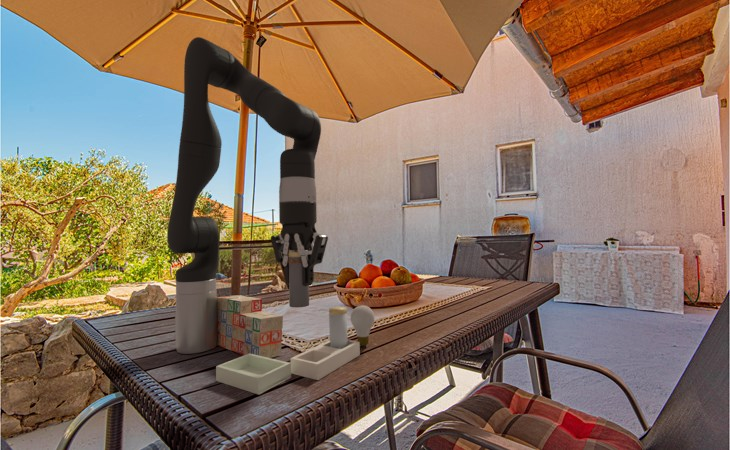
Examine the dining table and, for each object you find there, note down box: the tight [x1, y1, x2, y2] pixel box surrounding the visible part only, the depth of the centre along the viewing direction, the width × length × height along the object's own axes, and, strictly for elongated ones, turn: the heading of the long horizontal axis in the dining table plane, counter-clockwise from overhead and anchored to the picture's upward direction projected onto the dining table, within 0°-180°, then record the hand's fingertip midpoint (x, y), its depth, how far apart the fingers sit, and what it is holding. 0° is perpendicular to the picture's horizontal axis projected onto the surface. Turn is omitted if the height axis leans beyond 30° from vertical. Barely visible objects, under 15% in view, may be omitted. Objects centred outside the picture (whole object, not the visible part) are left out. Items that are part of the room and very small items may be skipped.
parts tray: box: [215, 353, 292, 395], centre depth 66 cm, size 12×8×3 cm, turn 58°
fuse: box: [328, 306, 349, 349], centre depth 77 cm, size 4×4×11 cm
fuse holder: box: [290, 339, 361, 381], centre depth 73 cm, size 7×15×3 cm, turn 149°
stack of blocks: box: [217, 294, 284, 359], centre depth 84 cm, size 21×6×12 cm, turn 49°
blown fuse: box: [288, 251, 310, 308], centre depth 70 cm, size 4×4×11 cm
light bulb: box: [350, 305, 375, 348], centre depth 84 cm, size 6×6×10 cm
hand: (299, 284), depth 70 cm, fingers closed on blown fuse, 4 cm apart
